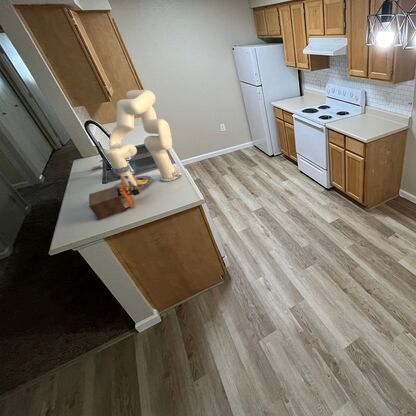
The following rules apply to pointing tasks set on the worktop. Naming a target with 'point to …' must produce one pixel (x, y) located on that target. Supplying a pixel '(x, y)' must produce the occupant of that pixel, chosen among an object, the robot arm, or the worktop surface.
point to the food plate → (141, 183)
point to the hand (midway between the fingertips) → (137, 194)
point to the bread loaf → (124, 182)
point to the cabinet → (106, 202)
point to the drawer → (126, 197)
